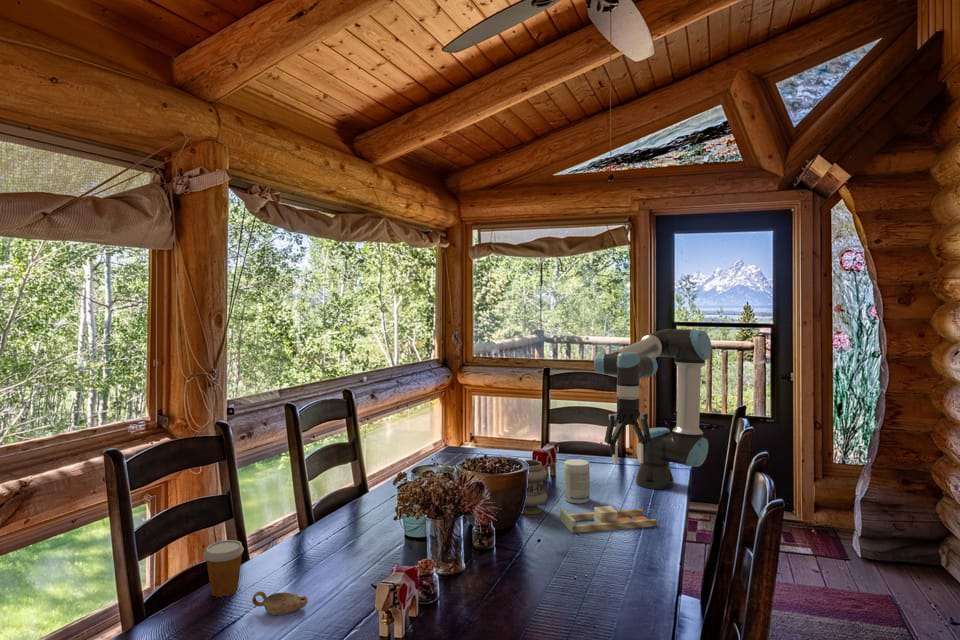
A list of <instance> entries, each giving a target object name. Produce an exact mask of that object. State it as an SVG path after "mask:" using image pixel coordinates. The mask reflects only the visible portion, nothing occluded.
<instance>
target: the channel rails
mask: <svg viewBox="0 0 960 640" xmlns="http://www.w3.org/2000/svg"><path fill="white" fill-rule="evenodd" d="M616 511H617V512H618V513H617V517H625V516H627V517H629V518H631V517H630V516H638V515H643V516H644V510H643V509H642V508H637V509H623V510H622V509H621V510H616ZM568 514H569V515H570V516H571V517H572V518H573V519H574V520H575V522H577V521H579V522H580V521H590V520H594V511H593V512H581V513H568ZM657 526H658V520H657V519H656V518H651V519H649V520H636V521H635V520H632V521H623V522H618V521H617V522H610V523H597V524H596V523H587V524H586V523H585V524H575V527H573V529H574V528H575V531H574V530H573V531H572V533H571V534H574V532H575V533H577V534H578V533H587V532H590V533H591V532H600V531H611V530H612V531H613V530H624V529H637V528H648V527H649V528H651V527H657Z"/></svg>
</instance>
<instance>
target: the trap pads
mask: <svg viewBox="0 0 960 640" xmlns="http://www.w3.org/2000/svg"><path fill="white" fill-rule="evenodd" d="M632 519H633V520H632ZM636 520H649V519H648V517H646V516H645V515H644V514H643V515H638V516H630V517H627V516H625V517H617V522H623V521H636Z"/></svg>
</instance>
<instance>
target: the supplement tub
mask: <svg viewBox="0 0 960 640" xmlns="http://www.w3.org/2000/svg"><path fill="white" fill-rule="evenodd" d="M563 465H564V467H563V473H564V474H563V475H564V476H563V480H564V485H563V487H564V488H563V489H564V500H565V501H567V503H568V502H569V503H570V504H571V503H572V504H577V505H579V504H584V503H585V504H586V503H588V502H589V501H590V499H591V496H590V493H591V490H590V489H591V488H590V487H591V486H590V485H591V484H590V479H591V478H590V463H589V461H588V460H585V459H580V458H579V459H577V458H576V459H573V458H572V459H571V458H570V459H567V460H565V461H564V464H563Z"/></svg>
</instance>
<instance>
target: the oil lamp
mask: <svg viewBox="0 0 960 640" xmlns="http://www.w3.org/2000/svg"><path fill="white" fill-rule="evenodd" d="M257 596H259V597H260V596H261V598H262V599H263V601H261V602H260V601H258V600H257V599H256V598H257ZM308 601H309V598H308V597H307V596H306V595H304V596H299V595H298V594H296V593H295V594H293V593H290V592H276V593H273V594H269V595H268V596H267V594H266V593H265V592H264V591H260V590H259V591H256V592H255V593H254V594H253V596H252V600H251V602H252V604H253V605H254V606H255V607H264V609H265V611H266V612H267V614H269V615H273V616H281V615H287V614H289V613H293V612H295V611H298V610H299V611H300V610H301V609H303V608H304V607H306V605H307V604H308Z"/></svg>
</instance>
